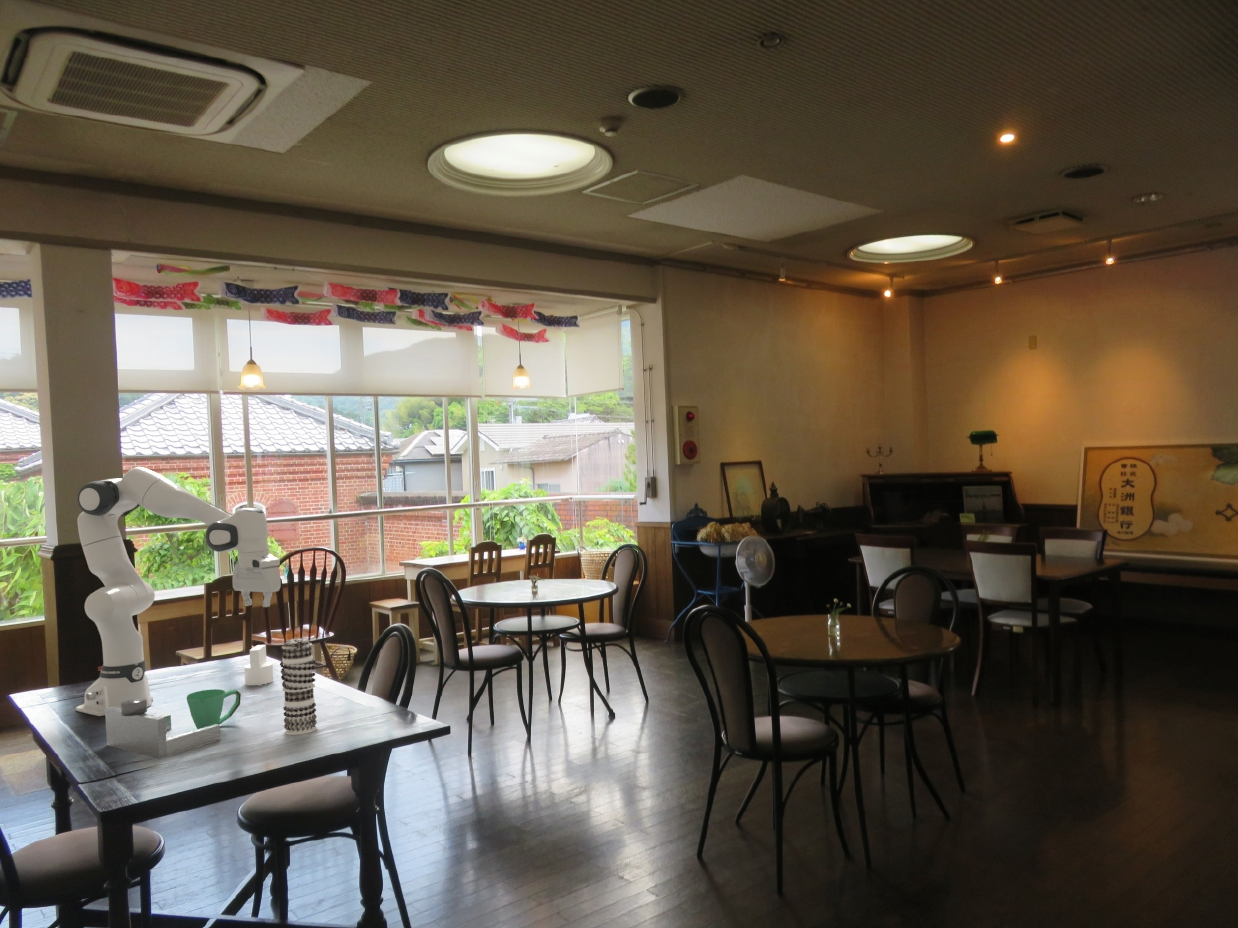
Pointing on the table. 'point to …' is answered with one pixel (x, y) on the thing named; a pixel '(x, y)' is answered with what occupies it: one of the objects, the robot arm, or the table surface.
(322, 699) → the table surface
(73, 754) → the table surface
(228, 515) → the robot arm
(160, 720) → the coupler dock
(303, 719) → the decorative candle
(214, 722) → the mug
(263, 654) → the base with upright slab
